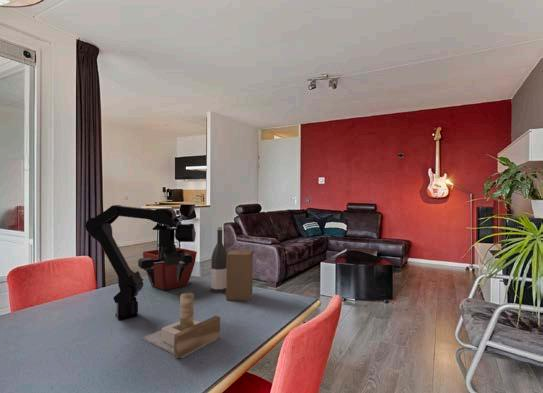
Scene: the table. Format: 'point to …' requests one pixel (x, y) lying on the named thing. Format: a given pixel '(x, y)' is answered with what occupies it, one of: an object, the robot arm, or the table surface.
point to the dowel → (186, 311)
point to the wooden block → (239, 275)
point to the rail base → (189, 337)
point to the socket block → (171, 332)
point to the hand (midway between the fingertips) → (166, 283)
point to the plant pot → (170, 271)
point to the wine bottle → (218, 265)
